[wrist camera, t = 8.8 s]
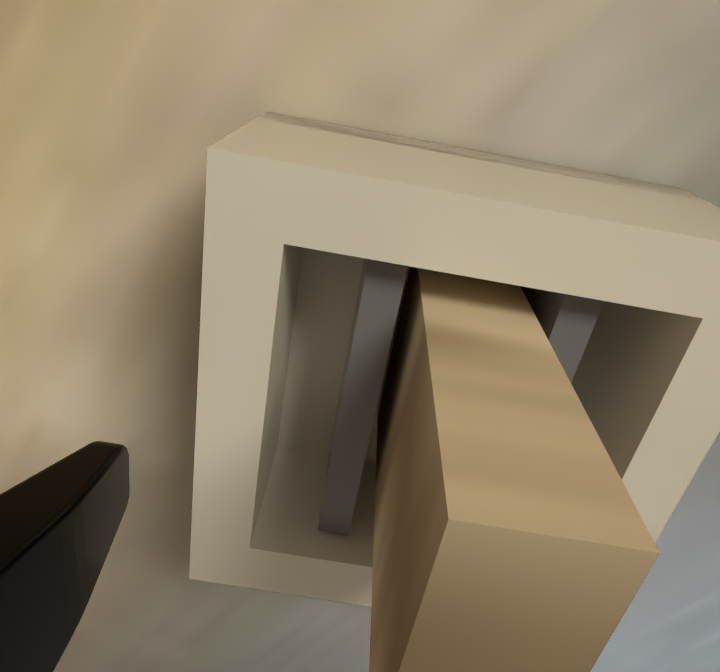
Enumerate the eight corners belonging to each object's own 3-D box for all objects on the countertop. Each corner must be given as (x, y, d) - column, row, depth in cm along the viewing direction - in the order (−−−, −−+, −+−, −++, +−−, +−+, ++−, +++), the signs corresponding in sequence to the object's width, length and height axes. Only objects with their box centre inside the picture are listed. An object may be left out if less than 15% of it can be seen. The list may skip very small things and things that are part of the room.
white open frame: (548, 499, 15) (597, 642, 11) (237, 447, 15) (189, 578, 11) (682, 189, 11) (820, 259, 8) (266, 111, 11) (206, 147, 7)
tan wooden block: (456, 427, 13) (518, 792, 7) (377, 414, 13) (366, 770, 7) (507, 262, 11) (659, 552, 5) (415, 245, 11) (448, 519, 5)
